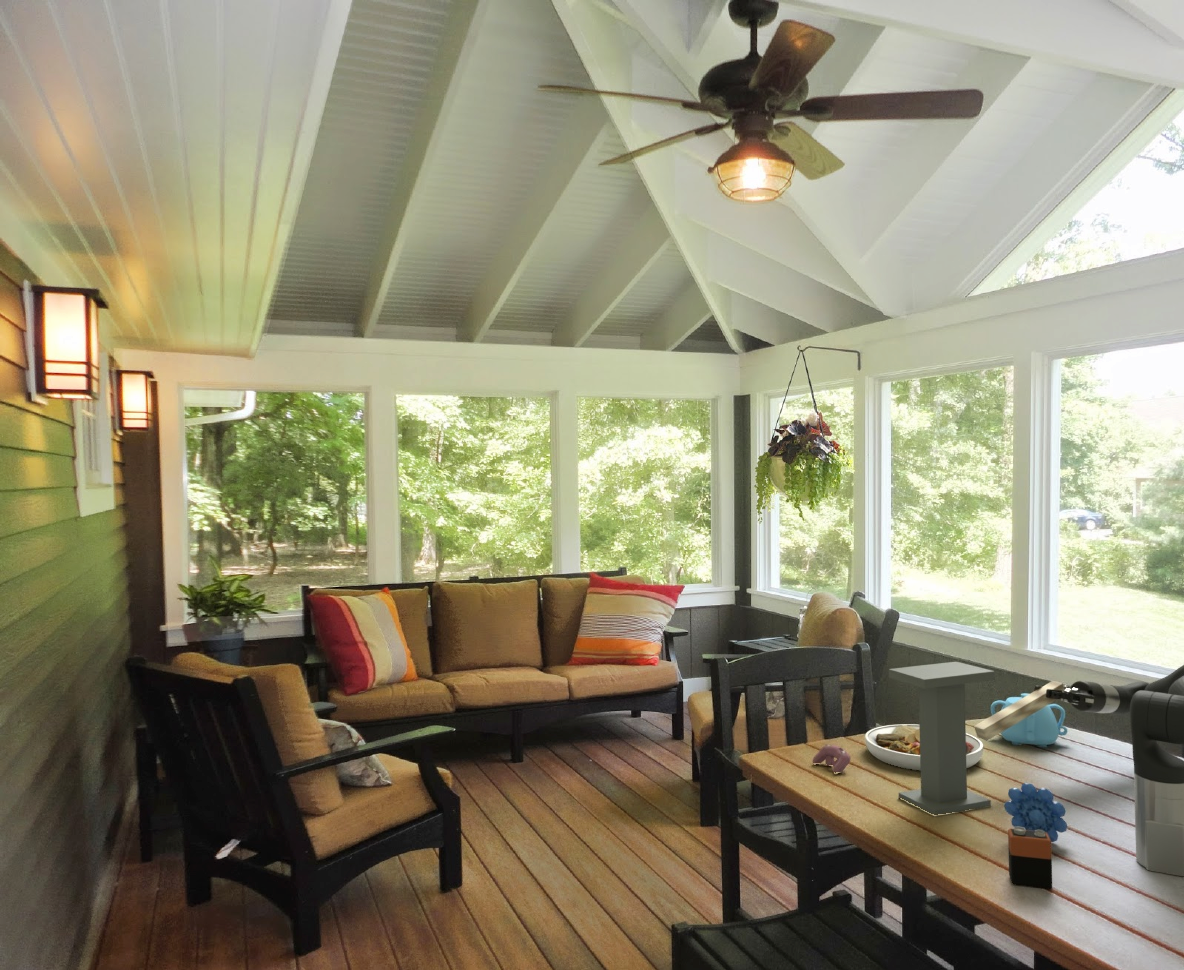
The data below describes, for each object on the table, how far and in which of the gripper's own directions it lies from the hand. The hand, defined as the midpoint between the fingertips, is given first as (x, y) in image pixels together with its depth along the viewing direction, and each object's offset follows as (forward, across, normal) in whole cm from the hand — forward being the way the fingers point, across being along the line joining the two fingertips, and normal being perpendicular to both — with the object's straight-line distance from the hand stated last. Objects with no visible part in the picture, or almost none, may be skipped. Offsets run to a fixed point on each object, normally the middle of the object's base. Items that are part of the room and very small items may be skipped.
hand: (1041, 691), depth 211 cm
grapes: (+25, -27, -27) cm, 46 cm away
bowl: (+9, +27, -26) cm, 38 cm away
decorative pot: (-26, +27, -19) cm, 42 cm away
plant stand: (+27, -2, -28) cm, 39 cm away
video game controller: (+37, +28, -30) cm, 55 cm away
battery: (+40, -40, -30) cm, 64 cm away
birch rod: (+5, 0, -6) cm, 8 cm away
